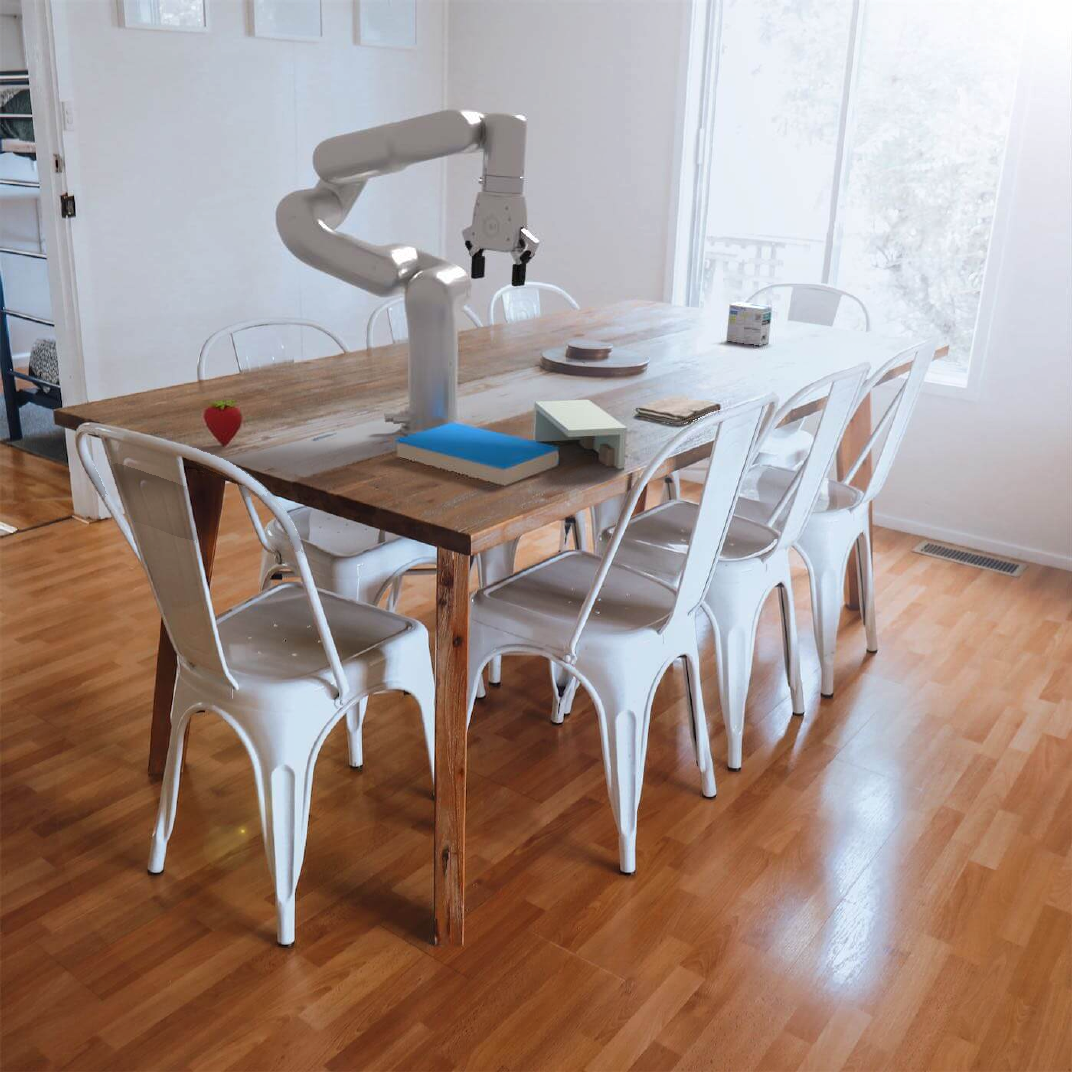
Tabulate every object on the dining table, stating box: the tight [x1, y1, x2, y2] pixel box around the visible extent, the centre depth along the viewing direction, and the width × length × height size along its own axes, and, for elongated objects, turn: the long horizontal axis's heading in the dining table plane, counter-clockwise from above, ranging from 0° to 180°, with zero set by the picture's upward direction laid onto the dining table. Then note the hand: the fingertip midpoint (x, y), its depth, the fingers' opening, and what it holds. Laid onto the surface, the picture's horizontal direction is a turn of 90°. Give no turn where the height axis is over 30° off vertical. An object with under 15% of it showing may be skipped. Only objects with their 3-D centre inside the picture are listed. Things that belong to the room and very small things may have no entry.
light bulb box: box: [726, 301, 773, 347], centre depth 323 cm, size 11×7×11 cm, turn 58°
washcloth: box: [634, 395, 721, 426], centre depth 244 cm, size 12×18×3 cm, turn 143°
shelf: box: [532, 399, 628, 470], centre depth 212 cm, size 11×21×8 cm, turn 17°
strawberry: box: [203, 391, 243, 446], centre depth 208 cm, size 6×8×10 cm
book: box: [395, 422, 561, 486], centre depth 206 cm, size 17×4×25 cm
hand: (497, 281), depth 210 cm, fingers open, 9 cm apart
